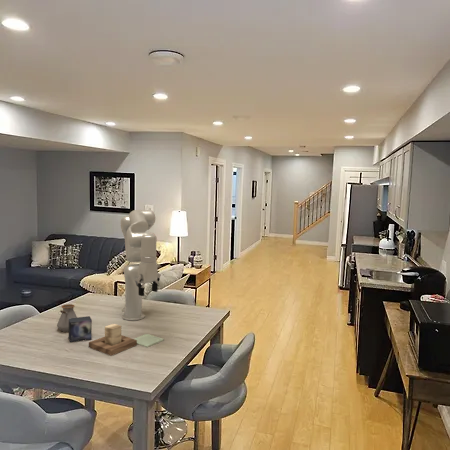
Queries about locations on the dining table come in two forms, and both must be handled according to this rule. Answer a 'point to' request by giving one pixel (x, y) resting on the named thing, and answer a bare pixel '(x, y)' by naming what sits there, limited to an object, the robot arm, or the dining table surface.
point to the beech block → (112, 334)
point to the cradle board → (111, 350)
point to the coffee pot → (66, 317)
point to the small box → (80, 329)
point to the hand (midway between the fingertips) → (148, 293)
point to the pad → (148, 340)
